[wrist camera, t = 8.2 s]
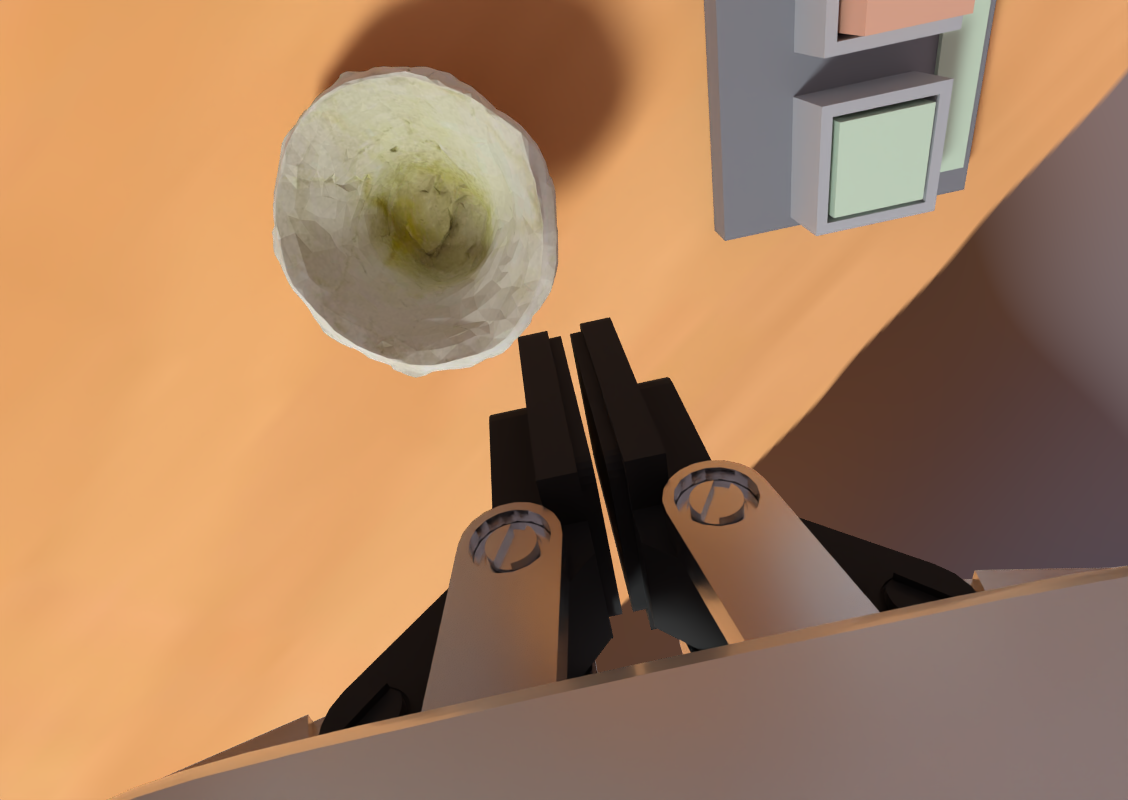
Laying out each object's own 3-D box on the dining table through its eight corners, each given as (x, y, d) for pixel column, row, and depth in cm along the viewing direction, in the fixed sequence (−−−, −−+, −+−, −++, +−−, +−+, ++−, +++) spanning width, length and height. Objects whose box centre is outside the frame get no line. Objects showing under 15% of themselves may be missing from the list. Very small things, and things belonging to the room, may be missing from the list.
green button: (813, 112, 35) (840, 122, 33) (902, 93, 35) (935, 102, 33) (810, 202, 38) (834, 218, 35) (893, 184, 38) (922, 199, 35)
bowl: (391, -14, 32) (362, -13, 24) (591, 175, 38) (624, 229, 30) (240, 214, 37) (173, 280, 29) (438, 348, 43) (431, 436, 35)
